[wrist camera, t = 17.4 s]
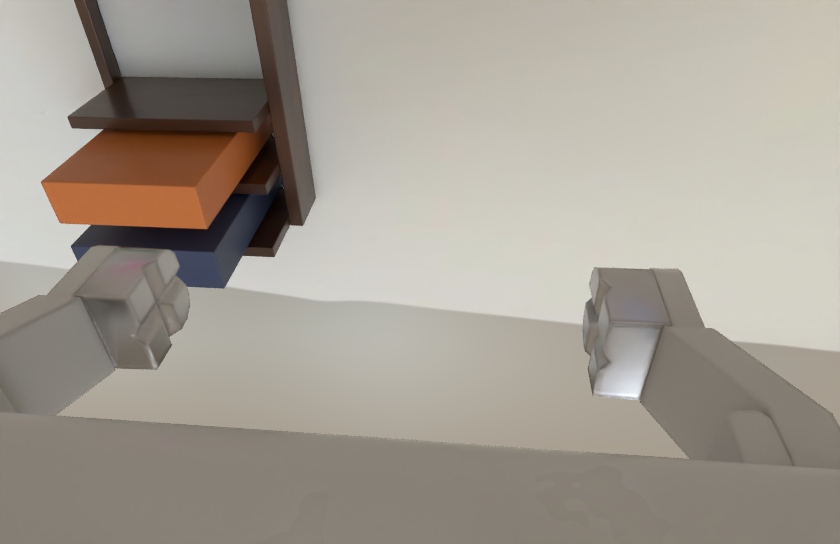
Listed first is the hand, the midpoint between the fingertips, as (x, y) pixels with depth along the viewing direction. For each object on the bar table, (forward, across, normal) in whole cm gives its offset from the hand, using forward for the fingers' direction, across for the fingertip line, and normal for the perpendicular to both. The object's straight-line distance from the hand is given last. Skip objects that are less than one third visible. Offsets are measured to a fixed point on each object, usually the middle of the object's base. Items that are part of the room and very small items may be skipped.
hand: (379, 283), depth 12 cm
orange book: (+31, +18, +10) cm, 37 cm away
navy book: (+31, +18, +14) cm, 39 cm away
